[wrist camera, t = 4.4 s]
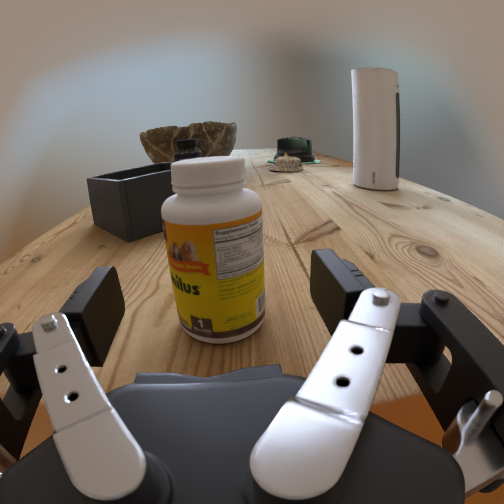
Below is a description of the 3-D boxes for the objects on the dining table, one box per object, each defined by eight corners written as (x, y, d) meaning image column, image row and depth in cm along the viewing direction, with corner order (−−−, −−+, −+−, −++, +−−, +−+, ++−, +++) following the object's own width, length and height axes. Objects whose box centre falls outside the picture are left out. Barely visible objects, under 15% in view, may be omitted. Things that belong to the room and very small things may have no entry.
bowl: (131, 190, 71) (125, 132, 66) (155, 174, 96) (151, 131, 90) (240, 179, 73) (237, 118, 67) (237, 167, 97) (235, 122, 92)
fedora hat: (327, 157, 114) (318, 164, 97) (289, 177, 123) (273, 187, 107) (309, 124, 111) (296, 125, 94) (271, 146, 121) (252, 151, 104)
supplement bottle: (170, 313, 20) (146, 164, 17) (240, 292, 23) (231, 152, 19) (199, 360, 16) (170, 169, 12) (282, 328, 18) (280, 157, 15)
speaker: (394, 193, 55) (393, 64, 45) (346, 187, 60) (343, 64, 50) (401, 186, 62) (400, 75, 52) (359, 180, 68) (357, 74, 58)
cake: (301, 169, 91) (302, 152, 89) (304, 174, 82) (305, 155, 80) (269, 167, 92) (269, 150, 90) (268, 172, 83) (269, 153, 80)
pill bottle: (180, 186, 69) (176, 140, 65) (206, 184, 69) (202, 137, 64) (174, 192, 63) (169, 141, 59) (202, 189, 63) (198, 138, 59)
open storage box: (128, 242, 35) (118, 181, 32) (93, 223, 44) (86, 178, 41) (218, 213, 44) (214, 162, 41) (167, 202, 54) (163, 162, 51)
